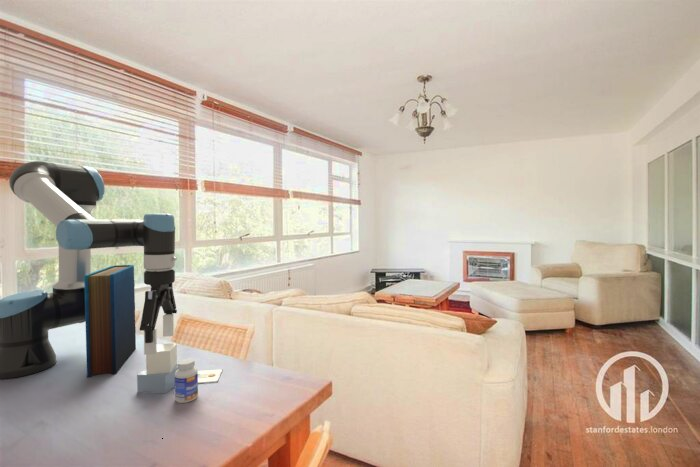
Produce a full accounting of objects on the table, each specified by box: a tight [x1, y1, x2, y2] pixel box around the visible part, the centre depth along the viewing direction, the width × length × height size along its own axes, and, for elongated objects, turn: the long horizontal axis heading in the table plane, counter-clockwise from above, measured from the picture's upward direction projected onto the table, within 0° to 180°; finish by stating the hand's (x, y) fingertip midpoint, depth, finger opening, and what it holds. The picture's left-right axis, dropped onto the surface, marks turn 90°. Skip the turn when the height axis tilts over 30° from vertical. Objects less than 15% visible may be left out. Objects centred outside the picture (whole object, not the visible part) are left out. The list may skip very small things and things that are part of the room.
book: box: [84, 264, 137, 378], centre depth 113 cm, size 24×9×30 cm, turn 18°
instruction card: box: [198, 368, 223, 384], centre depth 102 cm, size 10×8×1 cm
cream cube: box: [145, 342, 178, 374], centre depth 96 cm, size 6×6×6 cm
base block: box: [136, 364, 178, 394], centre depth 97 cm, size 8×8×5 cm
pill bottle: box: [174, 357, 199, 404], centre depth 90 cm, size 5×5×10 cm
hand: (160, 344), depth 97 cm, fingers open, 13 cm apart
